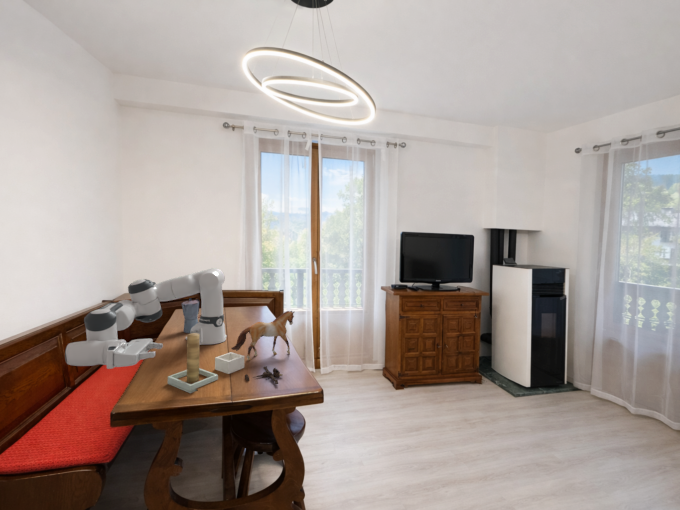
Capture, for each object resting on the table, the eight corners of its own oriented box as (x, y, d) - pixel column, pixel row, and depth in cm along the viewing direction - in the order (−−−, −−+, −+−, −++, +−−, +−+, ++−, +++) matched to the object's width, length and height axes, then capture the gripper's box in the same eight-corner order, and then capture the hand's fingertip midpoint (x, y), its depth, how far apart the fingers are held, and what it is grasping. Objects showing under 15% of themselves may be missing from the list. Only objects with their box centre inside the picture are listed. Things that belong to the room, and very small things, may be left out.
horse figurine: (292, 349, 172) (293, 309, 171) (298, 354, 165) (299, 312, 164) (230, 360, 155) (231, 315, 154) (235, 365, 148) (236, 319, 147)
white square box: (214, 371, 141) (215, 357, 141) (230, 365, 148) (231, 352, 148) (228, 376, 137) (228, 361, 136) (244, 369, 144) (244, 356, 144)
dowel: (185, 380, 130) (185, 334, 129) (196, 377, 133) (197, 332, 132) (189, 384, 127) (189, 337, 126) (200, 381, 130) (201, 335, 129)
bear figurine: (240, 367, 140) (274, 358, 146) (241, 377, 140) (275, 368, 147) (251, 384, 124) (288, 374, 131) (251, 395, 124) (289, 384, 131)
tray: (167, 383, 128) (167, 376, 128) (195, 373, 139) (195, 366, 138) (190, 393, 121) (190, 385, 121) (217, 381, 131) (218, 374, 131)
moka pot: (176, 334, 192) (176, 299, 191) (191, 327, 208) (191, 295, 207) (191, 335, 191) (191, 300, 190) (206, 328, 206) (206, 295, 205)
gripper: (128, 350, 133) (166, 349, 137) (105, 371, 113) (150, 368, 117) (128, 335, 133) (166, 333, 136) (105, 352, 113) (150, 350, 116)
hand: (158, 350), depth 126 cm, fingers open, 8 cm apart
